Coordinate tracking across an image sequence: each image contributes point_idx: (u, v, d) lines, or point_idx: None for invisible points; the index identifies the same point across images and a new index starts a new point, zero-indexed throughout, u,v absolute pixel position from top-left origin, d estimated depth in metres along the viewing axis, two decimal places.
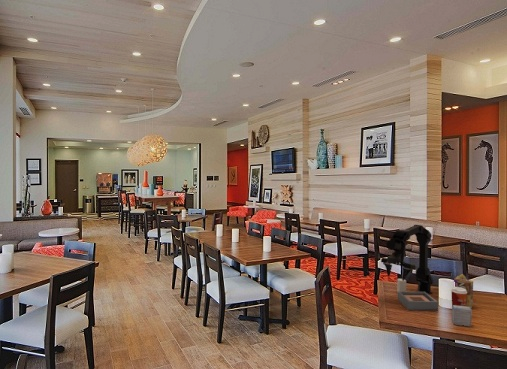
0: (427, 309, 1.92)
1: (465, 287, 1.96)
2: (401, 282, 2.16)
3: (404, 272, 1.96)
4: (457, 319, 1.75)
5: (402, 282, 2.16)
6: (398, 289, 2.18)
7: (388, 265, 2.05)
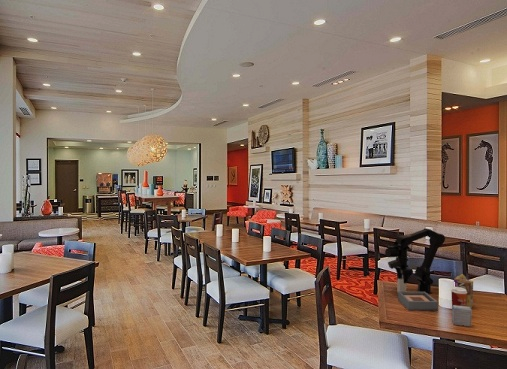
0: (427, 309, 1.92)
1: (465, 287, 1.96)
2: (401, 282, 2.16)
3: (403, 276, 2.12)
4: (457, 319, 1.75)
5: (402, 282, 2.16)
6: (398, 289, 2.18)
7: (397, 268, 2.23)
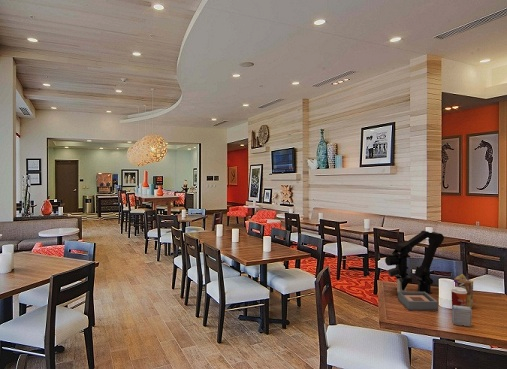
0: (427, 309, 1.92)
1: (465, 287, 1.96)
2: None
3: (401, 283, 2.15)
4: (457, 319, 1.75)
5: None
6: (398, 289, 2.18)
7: (398, 277, 2.21)
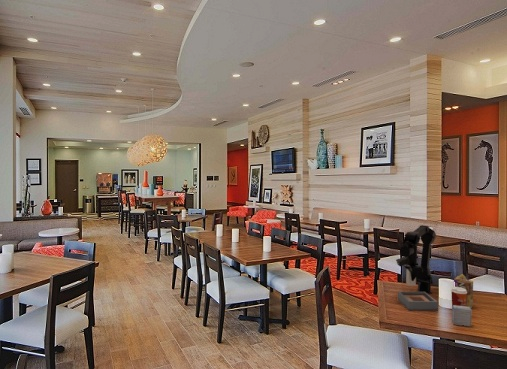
0: (427, 309, 1.92)
1: (465, 287, 1.96)
2: None
3: (411, 273, 2.03)
4: (457, 319, 1.75)
5: None
6: (407, 280, 2.06)
7: (408, 268, 2.09)
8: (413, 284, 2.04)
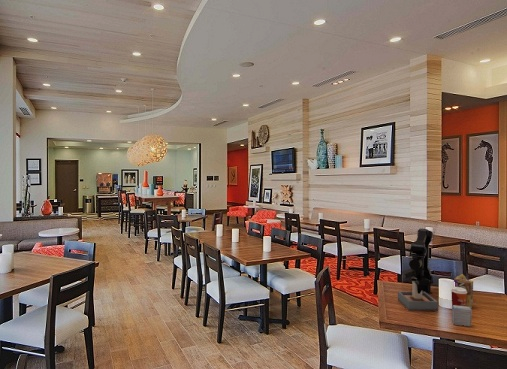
0: (427, 309, 1.92)
1: (465, 287, 1.96)
2: None
3: (417, 286, 1.97)
4: (457, 319, 1.75)
5: None
6: (413, 292, 2.00)
7: (413, 279, 2.03)
8: (419, 297, 1.98)
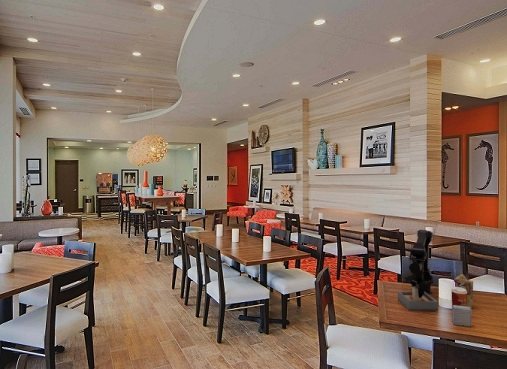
0: (427, 309, 1.92)
1: (465, 287, 1.96)
2: (416, 291, 1.98)
3: (418, 290, 1.96)
4: (457, 319, 1.75)
5: None
6: (413, 298, 2.00)
7: (412, 282, 2.04)
8: None
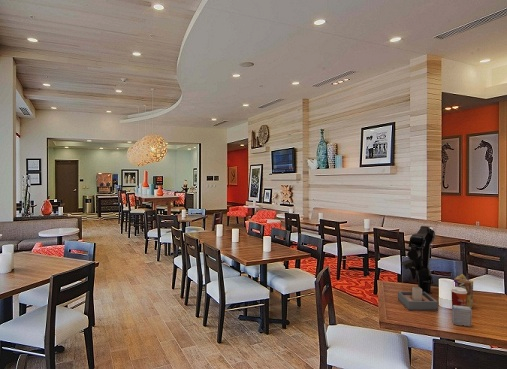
0: (427, 309, 1.92)
1: (465, 287, 1.96)
2: (416, 291, 1.98)
3: (418, 277, 2.00)
4: (457, 319, 1.75)
5: (418, 291, 1.98)
6: (413, 298, 2.00)
7: (411, 269, 2.10)
8: None
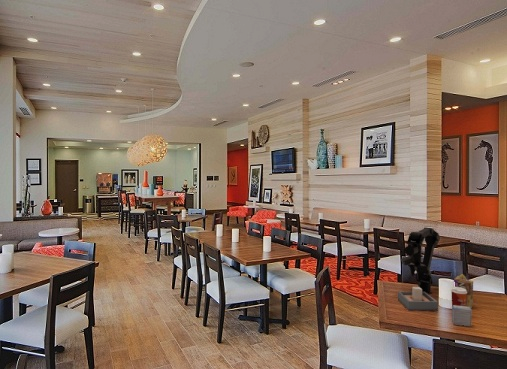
0: (427, 309, 1.92)
1: (465, 287, 1.96)
2: (416, 291, 1.98)
3: (417, 273, 2.06)
4: (457, 319, 1.75)
5: (418, 291, 1.98)
6: (413, 298, 2.00)
7: (410, 265, 2.17)
8: None
